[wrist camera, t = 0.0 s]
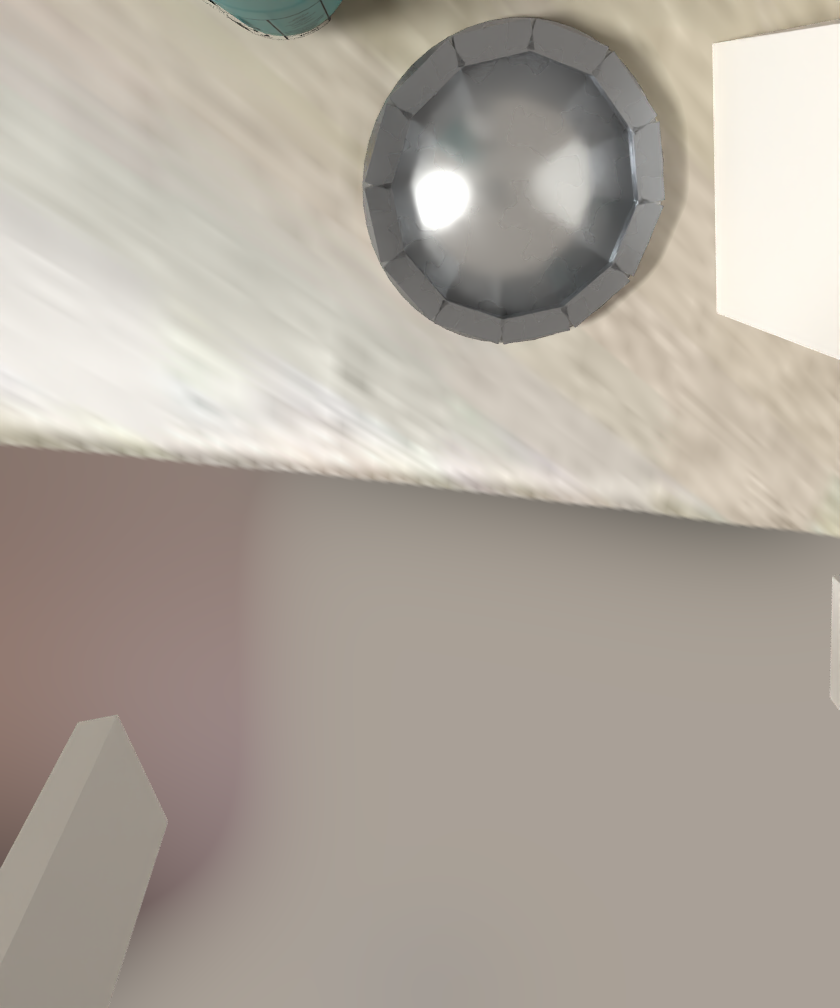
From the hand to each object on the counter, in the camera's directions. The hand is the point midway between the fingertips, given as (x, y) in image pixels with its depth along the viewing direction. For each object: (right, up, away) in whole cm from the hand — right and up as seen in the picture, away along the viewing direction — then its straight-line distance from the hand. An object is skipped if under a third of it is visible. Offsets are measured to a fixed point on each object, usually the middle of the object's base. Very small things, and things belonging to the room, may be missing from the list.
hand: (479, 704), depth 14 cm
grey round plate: (+3, +18, +23) cm, 29 cm away
